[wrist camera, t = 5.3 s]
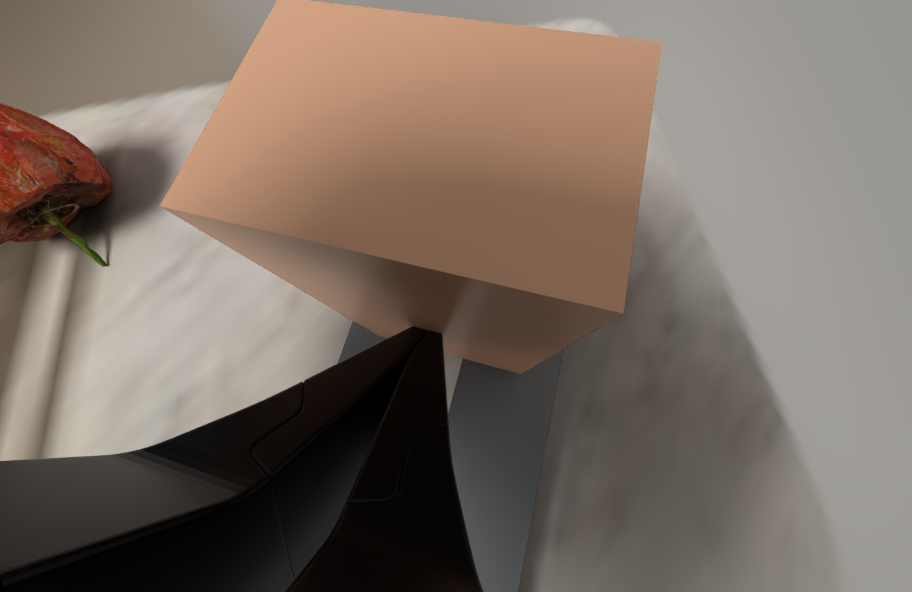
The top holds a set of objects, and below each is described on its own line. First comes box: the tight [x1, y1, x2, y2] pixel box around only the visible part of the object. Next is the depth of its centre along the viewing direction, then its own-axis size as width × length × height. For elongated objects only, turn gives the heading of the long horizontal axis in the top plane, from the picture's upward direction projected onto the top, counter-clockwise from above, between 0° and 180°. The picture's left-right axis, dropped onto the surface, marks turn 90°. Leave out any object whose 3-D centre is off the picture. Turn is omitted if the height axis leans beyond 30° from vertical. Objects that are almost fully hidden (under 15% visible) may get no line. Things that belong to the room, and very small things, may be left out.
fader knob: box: [160, 0, 662, 374], centre depth 9 cm, size 4×6×10 cm, turn 75°
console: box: [338, 321, 563, 592], centre depth 14 cm, size 22×9×2 cm, turn 165°
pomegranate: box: [0, 104, 112, 267], centre depth 17 cm, size 7×7×10 cm
